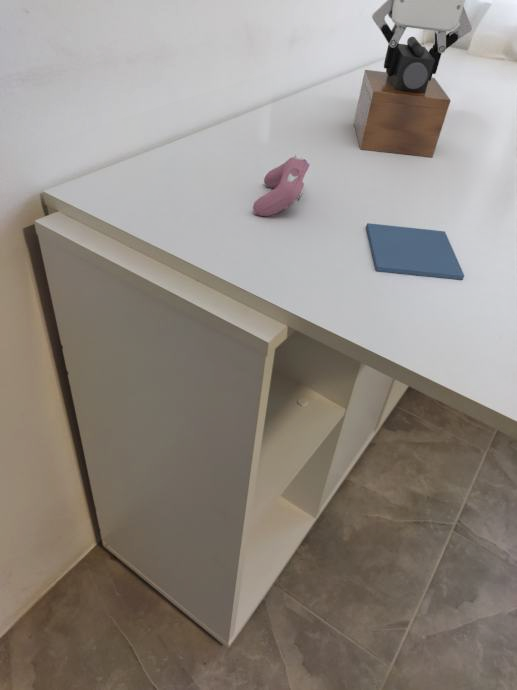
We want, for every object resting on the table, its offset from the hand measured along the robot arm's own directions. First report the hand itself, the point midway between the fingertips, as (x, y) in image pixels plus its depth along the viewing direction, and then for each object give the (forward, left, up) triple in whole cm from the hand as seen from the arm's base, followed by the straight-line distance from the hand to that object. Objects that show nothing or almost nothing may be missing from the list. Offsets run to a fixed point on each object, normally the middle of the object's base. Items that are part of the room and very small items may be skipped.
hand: (408, 74), depth 85 cm
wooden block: (0, 0, -10) cm, 10 cm away
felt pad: (+3, +37, -10) cm, 39 cm away
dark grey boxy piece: (0, 0, -1) cm, 1 cm away
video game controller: (+19, +28, -11) cm, 35 cm away
